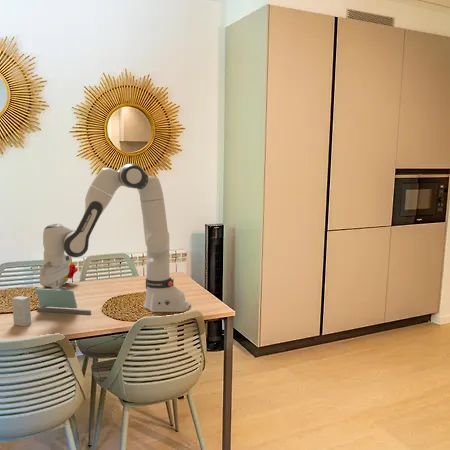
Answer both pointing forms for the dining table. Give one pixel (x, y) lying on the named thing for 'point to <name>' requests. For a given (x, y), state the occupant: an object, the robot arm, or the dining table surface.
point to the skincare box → (21, 310)
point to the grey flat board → (63, 310)
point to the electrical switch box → (70, 275)
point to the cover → (56, 298)
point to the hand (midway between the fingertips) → (55, 289)
